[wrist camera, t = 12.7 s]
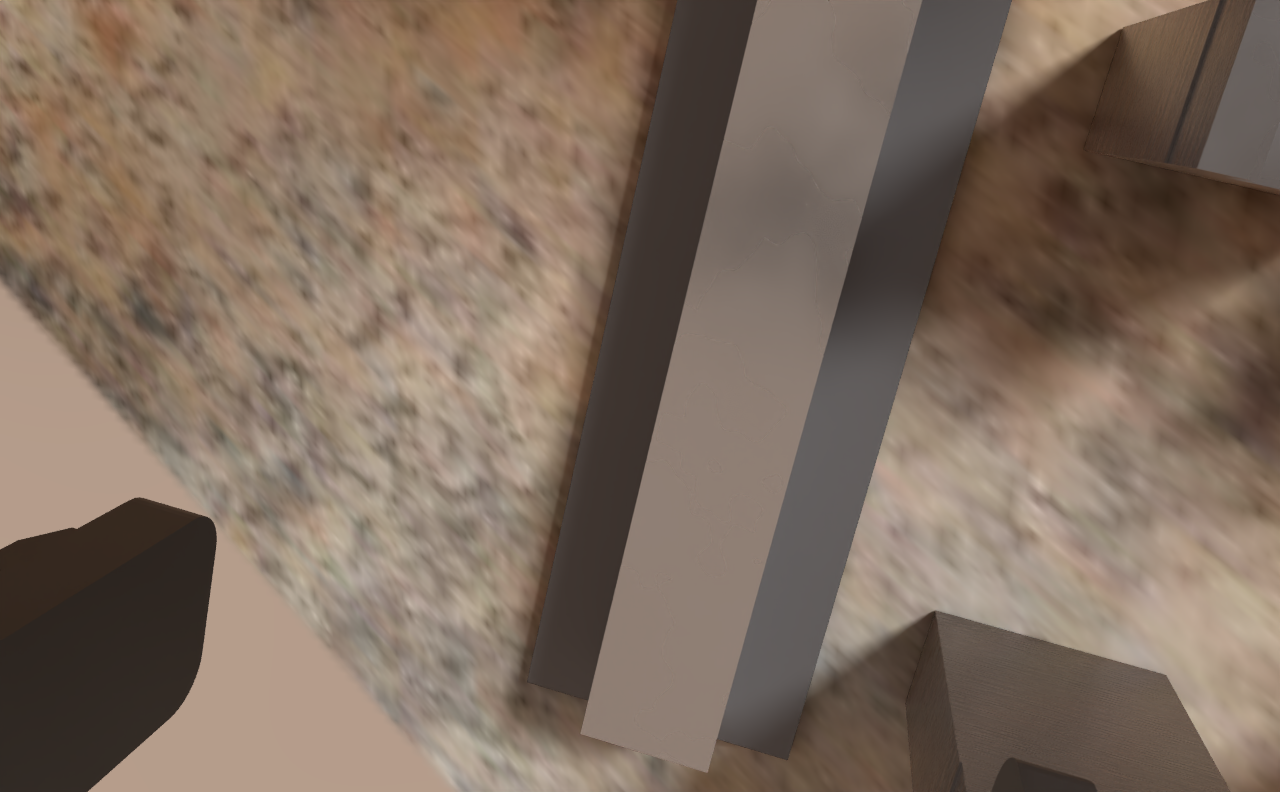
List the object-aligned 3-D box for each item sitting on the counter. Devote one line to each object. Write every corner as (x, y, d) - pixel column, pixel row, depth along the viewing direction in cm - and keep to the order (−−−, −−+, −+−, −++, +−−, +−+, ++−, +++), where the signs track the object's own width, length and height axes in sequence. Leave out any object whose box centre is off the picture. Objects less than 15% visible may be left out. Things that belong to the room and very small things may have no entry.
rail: (799, -115, 29) (792, -145, 25) (941, -85, 28) (952, -111, 25) (607, 673, 34) (580, 734, 31) (722, 707, 34) (707, 772, 31)
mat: (719, -171, 29) (716, -176, 29) (1040, -105, 28) (1043, -109, 28) (532, 672, 36) (527, 682, 35) (788, 749, 35) (787, 760, 34)
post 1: (935, 610, 33) (968, 815, 23) (1165, 675, 32) (1298, 914, 22) (905, 703, 34) (925, 938, 24) (1130, 768, 33) (1242, 1037, 23)
